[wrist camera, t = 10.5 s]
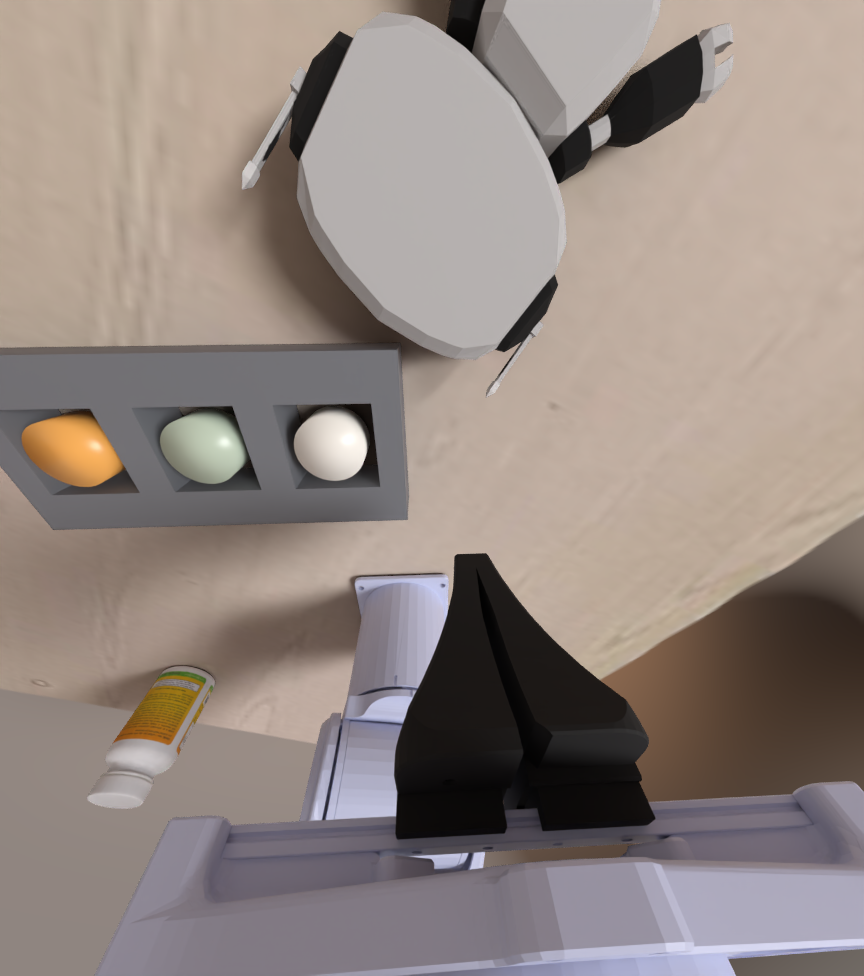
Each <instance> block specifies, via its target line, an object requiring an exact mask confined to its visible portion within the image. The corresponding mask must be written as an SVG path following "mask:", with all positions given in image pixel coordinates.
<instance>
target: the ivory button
mask: <svg viewBox="0 0 864 976" xmlns="http://www.w3.org/2000/svg"><path fill="white" fill-rule="evenodd" d="M369 444H370V435H369V431H368V428H367V426H366V424H365V423H364V421H363V420H362V419H361V418H360V417H359V416H358V415H357V414H356V413H354V412H353V411H351V410H349V409H347V408H344V407H340V406H327V407H323V408H320V409H319V410H317V411H315V412H314V413H313V414H312V415H311V416H310V417H309V418H308V419H307V420H306V421H305V422H304V423H303V424H302V426H301V427H300V428H299V429H298V431H297V432H296V435H295V438H294V450H295V454H296V456H297V458H298V460H299V462H300V463H301V465H302V466H303V467H304V468H305V469H306V470H307V471H308V472H310V473H311V474H313V475H314V476H317V477H319V478H321V479H325V480H330V481H340V480H345V479H348V478H350V477H352V476H353V475H355V474H356V473H357V472H358V471H359V470H360V468H361V467H362V465H363V462H364V460H365V457H366V454H367V451H368V448H369Z"/></svg>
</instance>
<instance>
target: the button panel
mask: <svg viewBox="0 0 864 976" xmlns="http://www.w3.org/2000/svg"><path fill="white" fill-rule="evenodd" d="M370 403H371V407H372V416H373V425H374V434H375V443H376V452H377V461H378V465H362V467H361V468H360V470H359V471H358V472H357V473H356V474H355V475H353V476H352V477H350V478H348V479H345V480H340V481H330V480H325V479H321V478H319V477H317V476H314V475H313V474H311V473H310V472H308V471H307V470H306V469H305V468H304V467H303V466H302V465H301V463H300V462H299V460H298V458H297V456H296V454H295V450H294V438H295V435H296V432H297V431H298V429H299V428H300V427H301V422H300V418H299V414H298V409H297V405H314V404H370ZM202 406H232V407H233V410H234V413H235V415H236V418H237V421H238V424H239V427H240V430H241V433H242V435H243V438H244V441H245V444H246V447H247V450H248V453H249V456H250V458H251V461H252V464H253V467H251V468H241V469H240V470H238V471H237V472H236V473H235V474H234V475H233V476H232V477H231V478H230V479H228V480H227V481H225V482H222V483H217V484H207V483H201V482H197V481H194V480H192V479H190V478H188V477H186V476H184V475H183V474H181V473H180V472H178V471H177V470H176V469H175V468H174V467H173V466H172V465H171V464H170V463H169V462H168V461H167V459H166V458H165V456H164V454H163V452H162V449H161V445H160V437H161V433H162V431H163V429H164V428H165V427H166V426H167V425H168V424H170V423H171V422H173V421H176V420H178V419H180V418H182V417H183V416H182V414H181V412H180V409H179V407H202ZM89 408H90V410H91V411H92V413H93V415H94V416H95V418H96V420H97V421H98V423H99V425H100V426H101V428H102V430H103V431H104V433H105V435H106V436H107V438H108V440H109V442H110V443H111V445H112V447H113V448H114V450H115V452H116V453H117V455H118V457H119V458H120V460H121V462H122V463H123V465H124V467H125V468H126V470H124V471H122V472H120V473H118V474H117V475H115V476H113V477H111V478H109V479H108V480H106V481H104V482H102V483H101V484H99V485H96V486H92V487H79V486H74V485H70V484H67V483H64V482H61V481H59V480H57V479H55V478H53V477H51V476H50V475H48V474H47V473H45V472H44V471H43V470H41V469H40V468H39V467H38V466H37V465H36V464H35V463H34V462H33V461H32V460H31V459H30V458H29V456H28V455H27V453H26V452H25V450H24V447H23V445H22V433H23V431H24V430H25V428H26V427H28V426H29V425H31V424H34V423H37V422H40V421H43V420H47V419H50V418H53V417H56V416H59V415H62V414H61V413H60V411H59V410H58V409H89ZM0 466H1V468H2V469H3V470H4V471H5V472H6V474H7V475H8V476H9V477H10V478H11V480H12V481H13V482H14V483H15V484H16V486H17V487H18V488H19V489H20V490H21V492H22V493H23V494H24V495H25V496H26V498H27V499H28V500H29V501H30V502H31V504H32V505H33V506H34V507H35V509H36V510H37V511H38V512H39V513H40V515H41V516H42V517H43V518H44V519H45V521H46V522H47V523H48V524H49V525H50V527H51V528H52V529H53V530H66V529H101V528H137V527H172V526H207V525H243V524H278V523H314V522H349V521H384V520H408V502H409V488H408V470H407V452H406V434H405V416H404V398H403V380H402V362H401V344H400V343H354V344H274V345H193V346H113V347H32V348H0Z"/></svg>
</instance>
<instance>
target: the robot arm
mask: <svg viewBox="0 0 864 976" xmlns="http://www.w3.org/2000/svg"><path fill="white" fill-rule="evenodd" d="M442 583H443V584H442ZM360 586H362V587H360ZM355 589H356V594H357V599H358V604H359V609H360V614H361V619H362V620H361V625H360V631H359V636H358V642H357V647H356V653H355V658H354V664H353V669H352V675H351V680H350V686H349V691H348V697H347V701H346V705H345V708H344V712H343V716H342V719H341V713H332V714H331V716H330V718H328V719H327V720H326V721H325V722H324V723H323V724H322V725H321V729H320V733H319V737H318V742H317V746H316V750H315V754H314V759H313V763H312V767H311V772H310V776H309V780H308V785H307V789H306V794H305V798H304V802H303V807H302V812H301V816H300V820H299V821H296V822H278V823H260V824H241V825H231V823H230V822H229V820H228V819H226V818H224V817H220V816H196V817H176V818H172V819H171V820H170V821H168V824H167V826H166V828H165V830H164V832H163V834H162V836H161V838H160V840H159V842H158V844H157V846H156V848H155V850H154V853H153V855H152V857H151V859H150V861H149V863H148V865H147V867H146V869H145V871H144V873H143V875H142V877H141V879H140V881H139V883H138V886H137V888H136V890H135V892H134V894H133V896H132V898H131V900H130V902H129V904H128V906H127V908H126V911H125V913H124V915H123V917H122V919H121V921H120V923H119V925H118V927H117V929H116V931H115V933H114V935H113V937H112V939H111V941H110V944H109V946H108V948H107V950H106V952H105V954H104V956H103V958H102V960H101V962H100V964H99V967H98V968H97V971H96V973H95V975H94V976H736V975H735V973H734V971H733V969H732V967H731V965H730V962H729V960H728V959H732V958H746V957H758V956H772V955H785V954H798V953H811V952H825V951H839V950H852V949H864V792H863V791H862V790H861V789H860V787H859V786H858V785H857V784H856V783H854V782H851V781H847V782H827V783H814V784H809V785H805V786H803V787H801V788H799V789H797V790H796V791H794V792H793V794H791V795H774V796H773V795H772V796H754V797H735V798H717V799H700V800H682V801H663V802H648V800H647V798H646V796H645V794H644V792H643V789H642V788H641V785H640V783H639V781H641V780H642V778H641V774H640V772H639V770H638V768H637V766H636V764H635V762H636V761H637V759H638V758H639V757H640V756H641V755H642V754H643V753H644V751H645V750H646V748H647V747H648V744H649V739H648V736H647V734H646V732H645V730H644V728H643V727H642V725H641V723H640V721H639V719H638V718H637V717H636V715H635V713H634V711H633V710H632V708H631V707H630V705H629V704H628V702H627V701H626V700H625V699H624V698H623V697H621V696H620V695H619V694H617V693H616V692H615V691H613V690H612V689H611V688H609V687H608V686H607V685H605V684H604V683H602V682H601V681H600V680H599V679H597V678H596V677H595V676H594V675H593V674H591V673H590V672H589V671H588V670H586V669H585V668H584V667H583V666H582V665H580V664H579V663H578V662H577V661H576V660H575V659H574V658H573V657H572V656H570V655H569V654H568V653H567V652H566V651H565V650H564V649H563V648H562V647H561V646H559V645H558V644H557V643H556V642H555V641H554V640H553V639H552V638H551V637H550V636H549V635H548V634H547V633H546V632H545V631H544V630H543V628H542V627H541V626H540V625H539V624H538V623H537V622H536V621H535V620H534V619H533V618H532V616H531V615H530V614H529V613H528V612H527V610H526V609H525V608H524V607H523V606H522V604H521V603H520V602H519V601H518V599H517V598H516V597H515V595H514V594H513V593H512V591H511V590H510V589H509V587H508V586H507V584H506V583H505V582H504V580H503V579H502V577H501V576H500V574H499V573H498V571H497V570H496V568H495V566H494V565H493V563H492V561H491V560H490V558H489V556H488V555H487V554H486V553H482V554H457V555H456V556H455V559H454V583H453V592H452V597H451V601H450V605H449V609H448V577H447V575H444V574H437V575H407V576H377V577H358V578H356V579H355ZM447 612H448V613H447ZM503 802H504V804H503ZM632 843H641V844H636V845H631V846H628V849H627V852H626V853H625V854H623V855H622V856H621V857H620V858H599V859H598V858H597V859H570V860H552V861H540V862H529V863H519V864H511V865H502V866H493V867H486V868H483V863H484V856H485V852H494V851H511V850H528V849H544V848H545V849H546V848H563V847H580V846H597V845H614V844H632Z"/></svg>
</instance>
